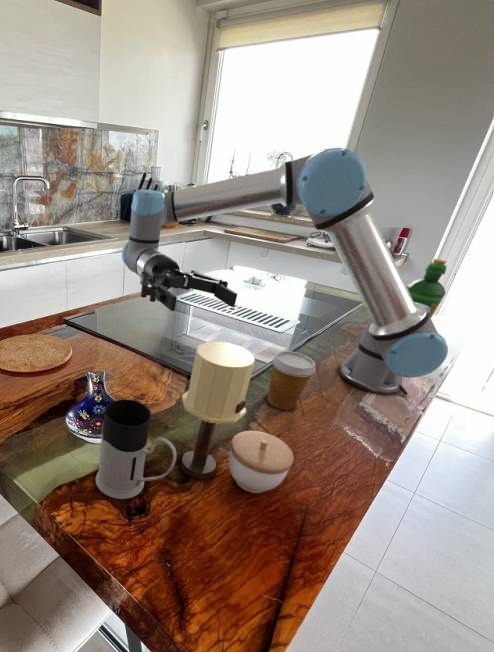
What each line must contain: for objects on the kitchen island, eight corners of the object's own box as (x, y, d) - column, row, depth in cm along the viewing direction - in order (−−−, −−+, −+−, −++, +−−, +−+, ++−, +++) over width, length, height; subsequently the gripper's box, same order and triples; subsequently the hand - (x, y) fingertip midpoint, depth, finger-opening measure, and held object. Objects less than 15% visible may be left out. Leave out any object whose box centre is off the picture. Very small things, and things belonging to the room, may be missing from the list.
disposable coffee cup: (303, 416, 97) (321, 372, 91) (262, 409, 98) (276, 365, 92) (297, 396, 105) (312, 354, 99) (259, 389, 106) (272, 347, 100)
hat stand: (220, 468, 79) (252, 358, 67) (202, 484, 75) (232, 370, 63) (193, 451, 83) (217, 344, 70) (174, 466, 79) (197, 355, 66)
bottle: (424, 350, 137) (469, 266, 123) (393, 348, 137) (434, 263, 122) (406, 337, 146) (445, 257, 132) (376, 335, 146) (412, 254, 131)
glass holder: (116, 457, 79) (124, 391, 72) (178, 496, 72) (194, 427, 64) (85, 480, 73) (89, 411, 66) (149, 525, 66) (162, 454, 58)
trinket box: (272, 512, 71) (289, 471, 66) (214, 485, 75) (225, 445, 70) (286, 476, 79) (302, 438, 74) (233, 454, 83) (244, 416, 78)
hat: (254, 407, 72) (269, 356, 67) (224, 431, 65) (238, 376, 60) (203, 383, 78) (214, 334, 72) (171, 403, 71) (180, 351, 66)
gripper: (201, 284, 103) (252, 316, 86) (107, 287, 94) (144, 324, 78) (207, 253, 99) (262, 281, 82) (109, 254, 91) (149, 285, 74)
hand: (205, 302), depth 80 cm, fingers open, 13 cm apart
